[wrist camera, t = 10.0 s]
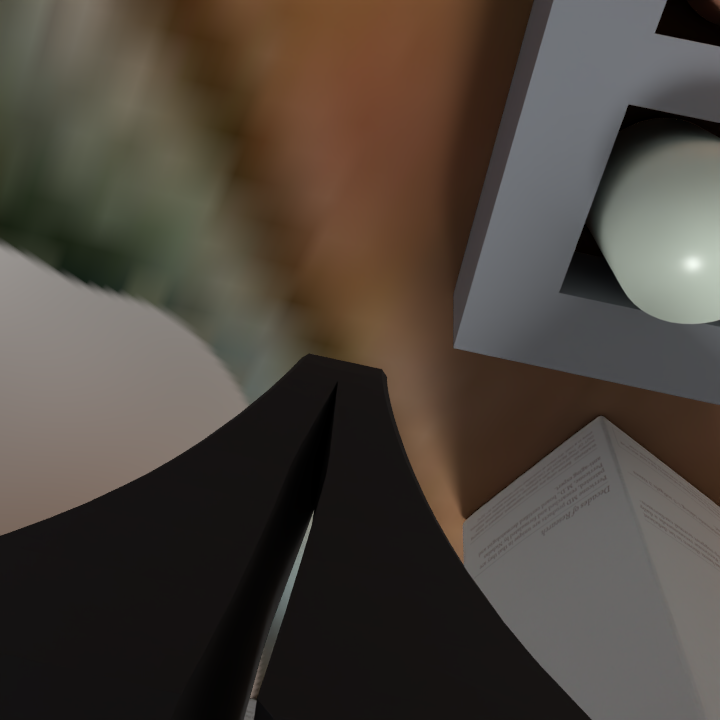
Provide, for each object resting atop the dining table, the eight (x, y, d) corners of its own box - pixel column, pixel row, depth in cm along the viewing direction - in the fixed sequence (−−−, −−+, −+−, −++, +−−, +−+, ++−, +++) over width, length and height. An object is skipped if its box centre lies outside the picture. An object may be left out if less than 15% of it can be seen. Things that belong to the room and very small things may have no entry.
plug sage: (561, 239, 19) (589, 305, 15) (608, 104, 17) (655, 139, 13) (688, 265, 19) (750, 338, 15) (751, 133, 17) (842, 177, 13)
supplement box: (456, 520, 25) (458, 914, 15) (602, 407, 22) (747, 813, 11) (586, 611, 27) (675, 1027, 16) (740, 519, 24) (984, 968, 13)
